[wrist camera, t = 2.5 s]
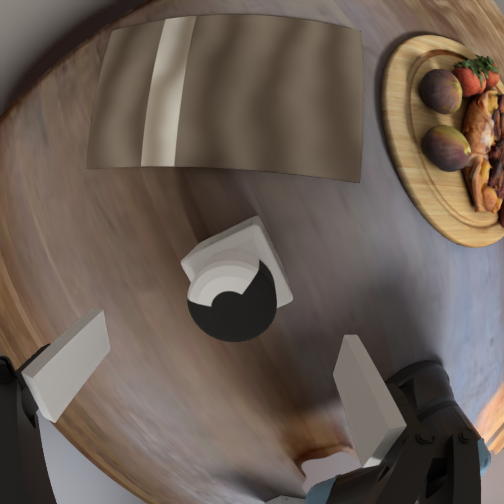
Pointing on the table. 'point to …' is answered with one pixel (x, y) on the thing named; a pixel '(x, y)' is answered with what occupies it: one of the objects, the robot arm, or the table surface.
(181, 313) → the table surface
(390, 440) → the robot arm
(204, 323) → the container
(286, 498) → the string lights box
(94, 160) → the board
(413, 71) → the wooden plate with food
